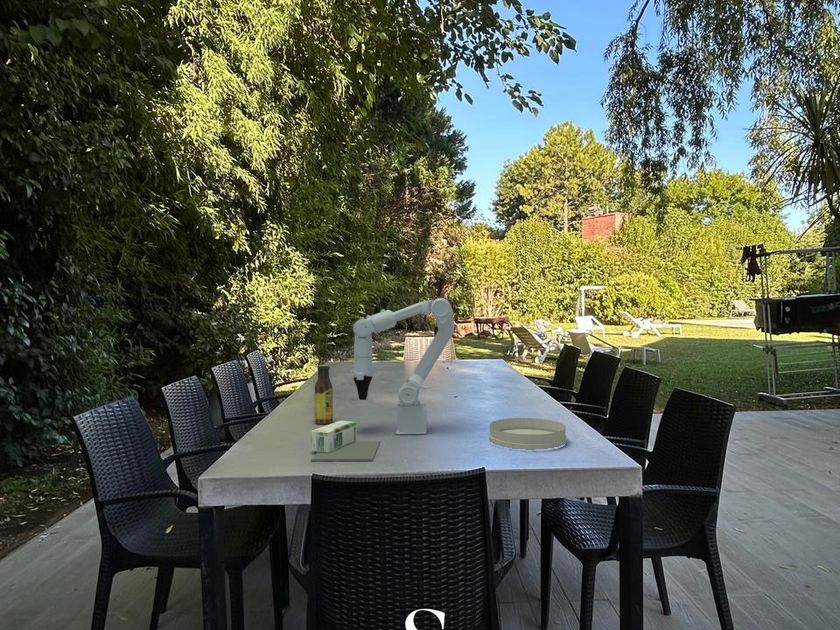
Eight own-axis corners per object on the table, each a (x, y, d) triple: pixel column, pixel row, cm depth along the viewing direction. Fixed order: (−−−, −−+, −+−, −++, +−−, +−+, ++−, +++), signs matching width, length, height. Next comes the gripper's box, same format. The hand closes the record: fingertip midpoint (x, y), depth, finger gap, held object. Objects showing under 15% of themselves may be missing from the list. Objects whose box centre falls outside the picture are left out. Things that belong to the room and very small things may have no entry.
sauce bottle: (329, 425, 184) (328, 366, 184) (311, 424, 185) (310, 366, 185) (336, 421, 191) (335, 364, 190) (319, 420, 192) (318, 364, 191)
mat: (379, 443, 159) (379, 441, 159) (372, 461, 141) (372, 459, 141) (325, 443, 160) (325, 441, 160) (311, 461, 142) (311, 459, 142)
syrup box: (357, 441, 160) (328, 453, 147) (340, 439, 163) (310, 451, 150) (356, 421, 160) (328, 432, 147) (339, 419, 163) (310, 430, 150)
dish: (480, 449, 153) (480, 431, 153) (498, 431, 174) (498, 415, 173) (561, 456, 145) (561, 437, 145) (570, 436, 165) (570, 420, 165)
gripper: (354, 354, 180) (353, 395, 181) (346, 358, 166) (346, 403, 166) (375, 354, 180) (375, 395, 180) (370, 359, 166) (369, 403, 166)
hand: (362, 399), depth 173 cm, fingers closed
